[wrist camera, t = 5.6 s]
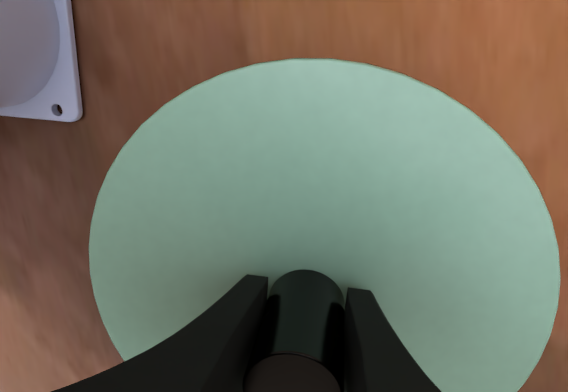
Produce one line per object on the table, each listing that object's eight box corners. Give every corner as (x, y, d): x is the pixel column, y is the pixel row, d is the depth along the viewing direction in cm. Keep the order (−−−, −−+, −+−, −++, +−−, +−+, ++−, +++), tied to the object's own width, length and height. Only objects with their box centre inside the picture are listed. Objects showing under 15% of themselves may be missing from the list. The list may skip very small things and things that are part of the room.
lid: (123, 408, 16) (45, 535, 12) (86, 39, 11) (-63, 37, 7) (482, 469, 15) (536, 639, 11) (611, 76, 10) (802, 101, 6)
